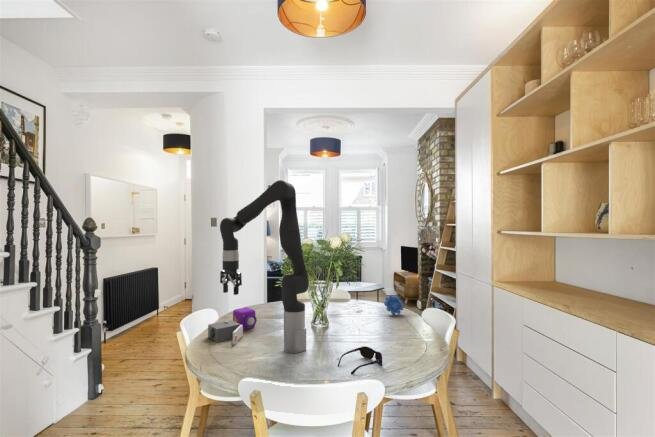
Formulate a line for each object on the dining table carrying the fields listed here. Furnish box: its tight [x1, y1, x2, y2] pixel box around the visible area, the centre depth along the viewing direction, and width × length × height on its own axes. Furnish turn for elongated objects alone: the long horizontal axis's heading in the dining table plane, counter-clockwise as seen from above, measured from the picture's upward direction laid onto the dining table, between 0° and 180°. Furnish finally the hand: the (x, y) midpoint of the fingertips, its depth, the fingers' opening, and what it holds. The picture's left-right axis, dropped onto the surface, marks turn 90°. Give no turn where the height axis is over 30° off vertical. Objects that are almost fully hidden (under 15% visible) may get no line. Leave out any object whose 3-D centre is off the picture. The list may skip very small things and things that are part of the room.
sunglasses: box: [337, 345, 383, 375], centre depth 135 cm, size 14×16×5 cm
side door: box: [232, 325, 244, 345], centre depth 164 cm, size 2×12×5 cm, turn 177°
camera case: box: [207, 319, 241, 343], centre depth 169 cm, size 10×13×7 cm
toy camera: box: [232, 306, 257, 330], centre depth 184 cm, size 11×14×10 cm
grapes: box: [383, 294, 404, 315], centre depth 209 cm, size 12×7×12 cm, turn 89°
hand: (230, 293), depth 166 cm, fingers open, 8 cm apart
